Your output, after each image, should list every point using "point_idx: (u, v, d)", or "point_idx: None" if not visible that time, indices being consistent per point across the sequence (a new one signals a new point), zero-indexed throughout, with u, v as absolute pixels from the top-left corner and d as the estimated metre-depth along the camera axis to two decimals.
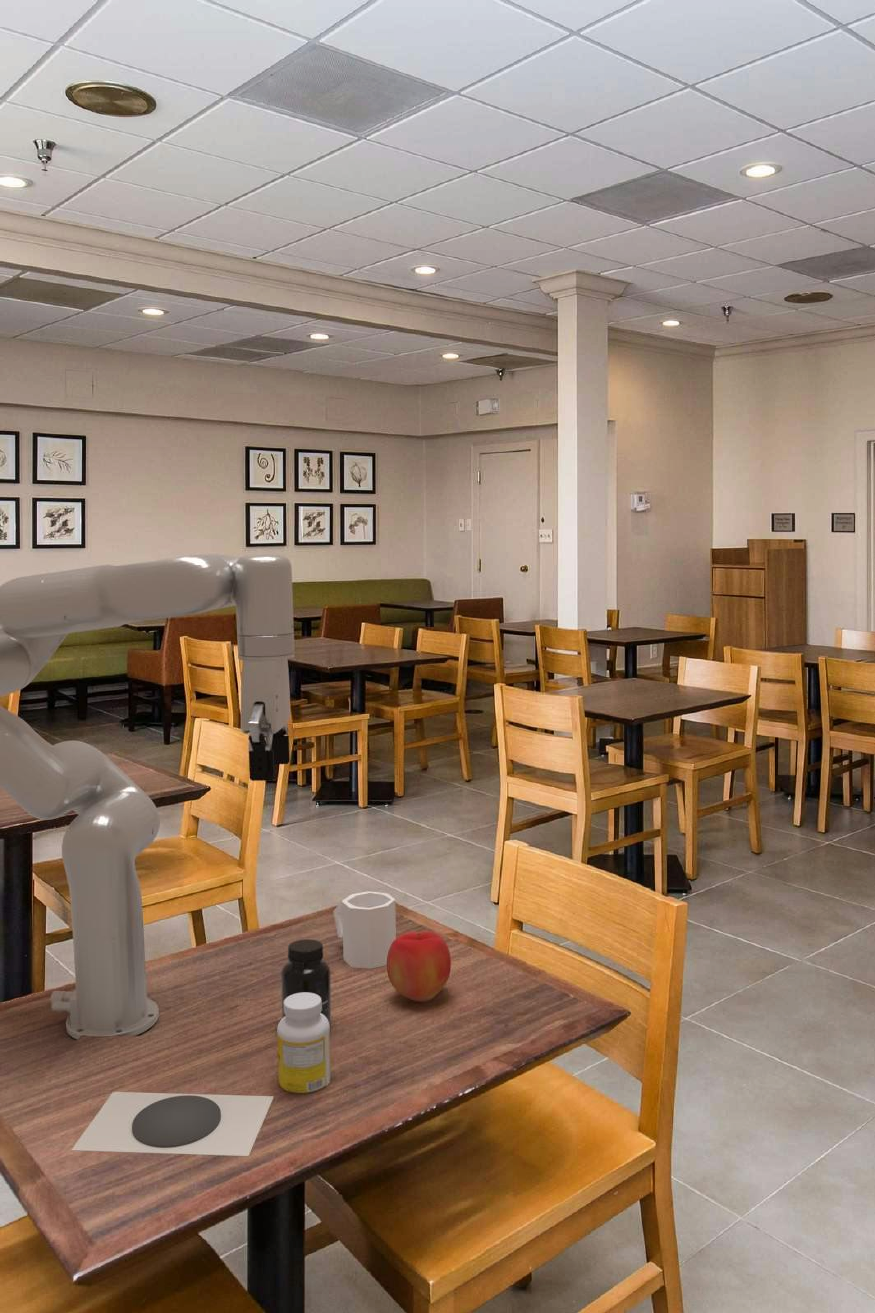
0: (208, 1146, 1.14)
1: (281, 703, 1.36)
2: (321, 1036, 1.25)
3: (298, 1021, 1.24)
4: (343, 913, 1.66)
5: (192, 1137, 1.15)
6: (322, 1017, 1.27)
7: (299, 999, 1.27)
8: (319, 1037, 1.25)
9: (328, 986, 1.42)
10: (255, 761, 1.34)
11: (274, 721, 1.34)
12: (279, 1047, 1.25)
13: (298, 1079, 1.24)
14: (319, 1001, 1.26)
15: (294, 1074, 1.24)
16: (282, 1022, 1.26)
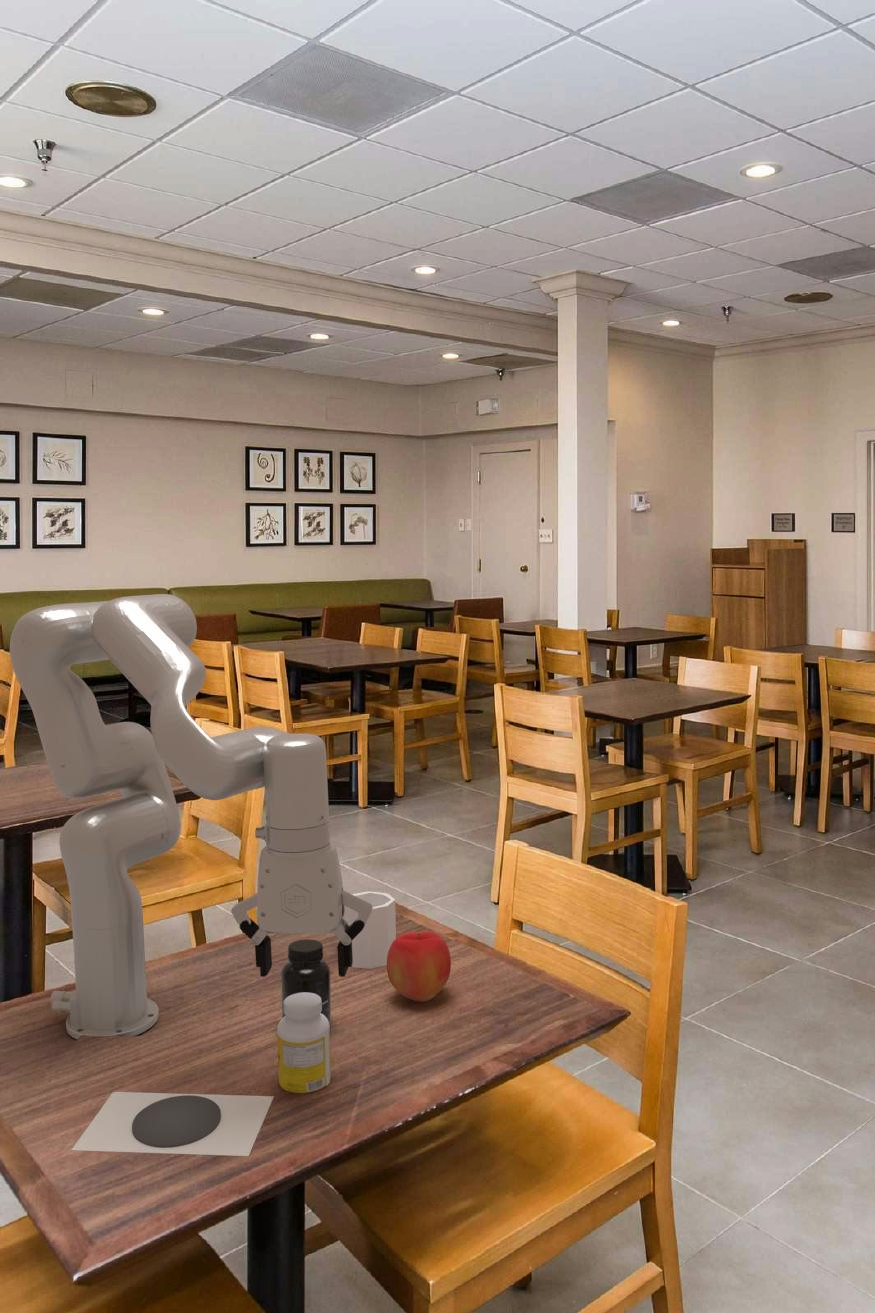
0: (208, 1146, 1.14)
1: None
2: (321, 1036, 1.25)
3: (298, 1021, 1.24)
4: None
5: (192, 1137, 1.15)
6: (322, 1017, 1.27)
7: (299, 999, 1.27)
8: (319, 1037, 1.25)
9: (328, 986, 1.42)
10: (350, 952, 1.24)
11: None
12: (279, 1047, 1.25)
13: (298, 1079, 1.24)
14: (319, 1001, 1.26)
15: (294, 1074, 1.24)
16: (282, 1022, 1.26)
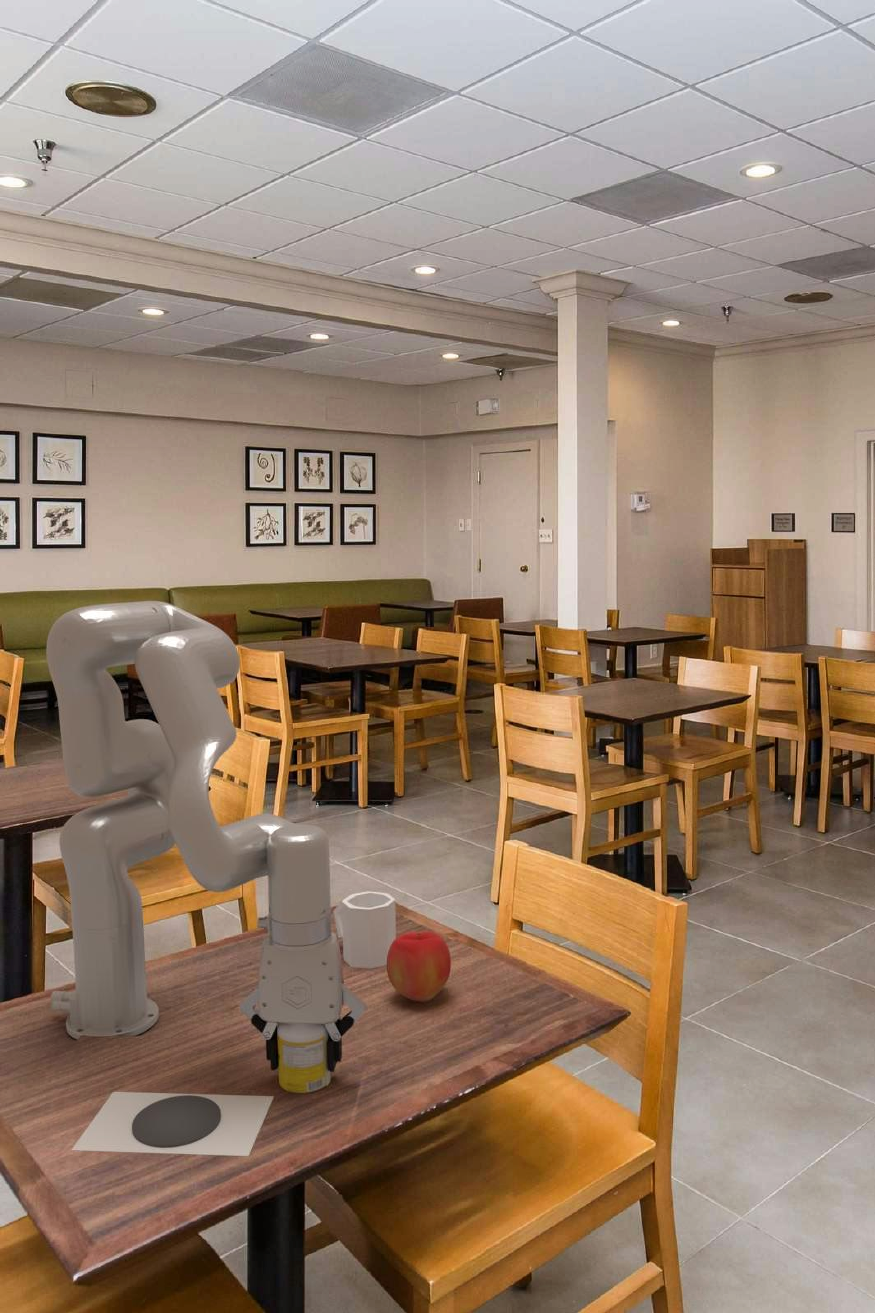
0: (208, 1146, 1.14)
1: None
2: (321, 1036, 1.25)
3: None
4: (343, 913, 1.66)
5: (192, 1137, 1.15)
6: None
7: None
8: (319, 1037, 1.25)
9: None
10: (340, 1047, 1.26)
11: None
12: (279, 1047, 1.25)
13: (298, 1079, 1.24)
14: None
15: (294, 1074, 1.24)
16: None
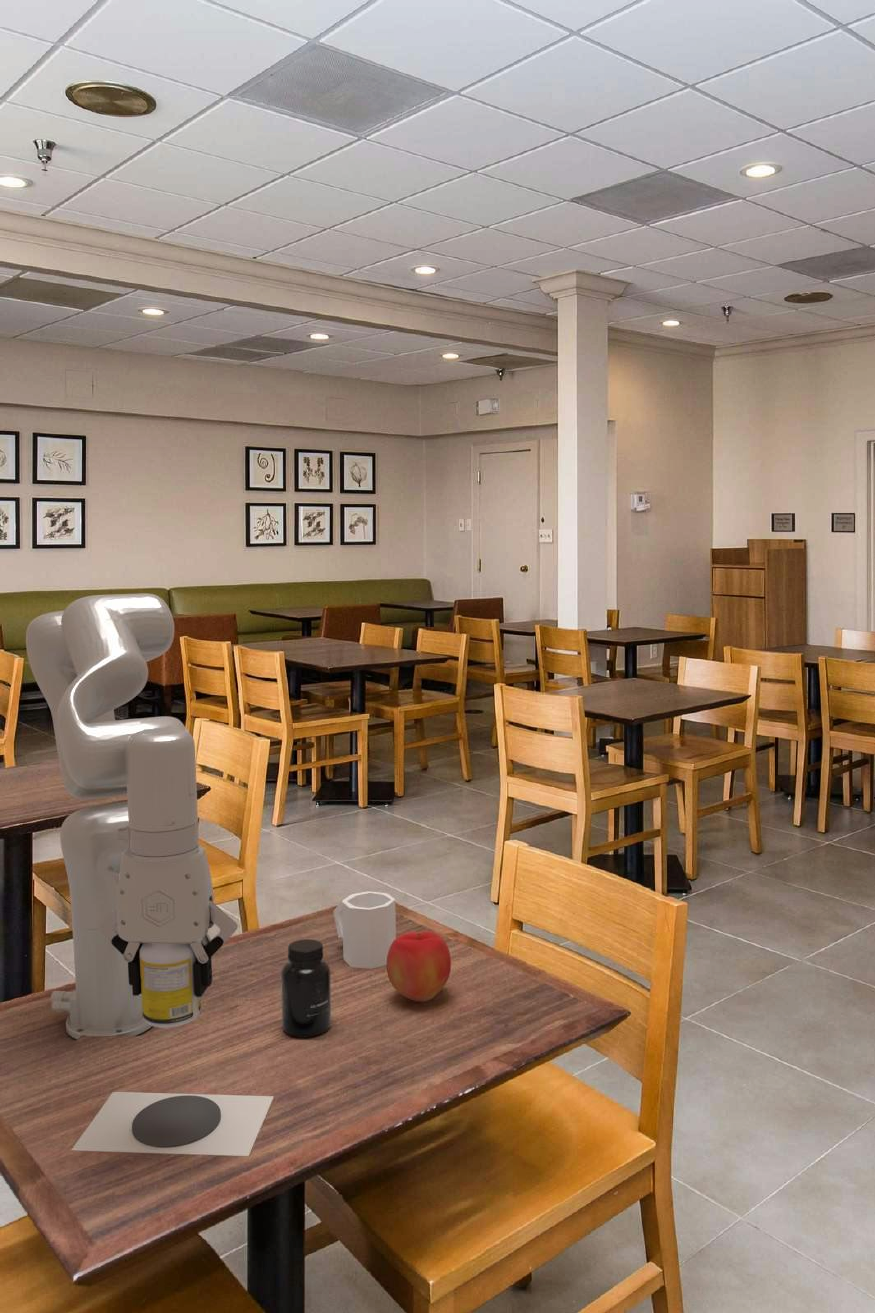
0: (208, 1146, 1.14)
1: None
2: (186, 958, 1.14)
3: None
4: (343, 913, 1.66)
5: (192, 1137, 1.15)
6: None
7: None
8: (184, 959, 1.14)
9: (328, 986, 1.42)
10: (208, 971, 1.16)
11: None
12: (141, 970, 1.15)
13: (161, 1004, 1.14)
14: None
15: (156, 998, 1.14)
16: (145, 943, 1.16)
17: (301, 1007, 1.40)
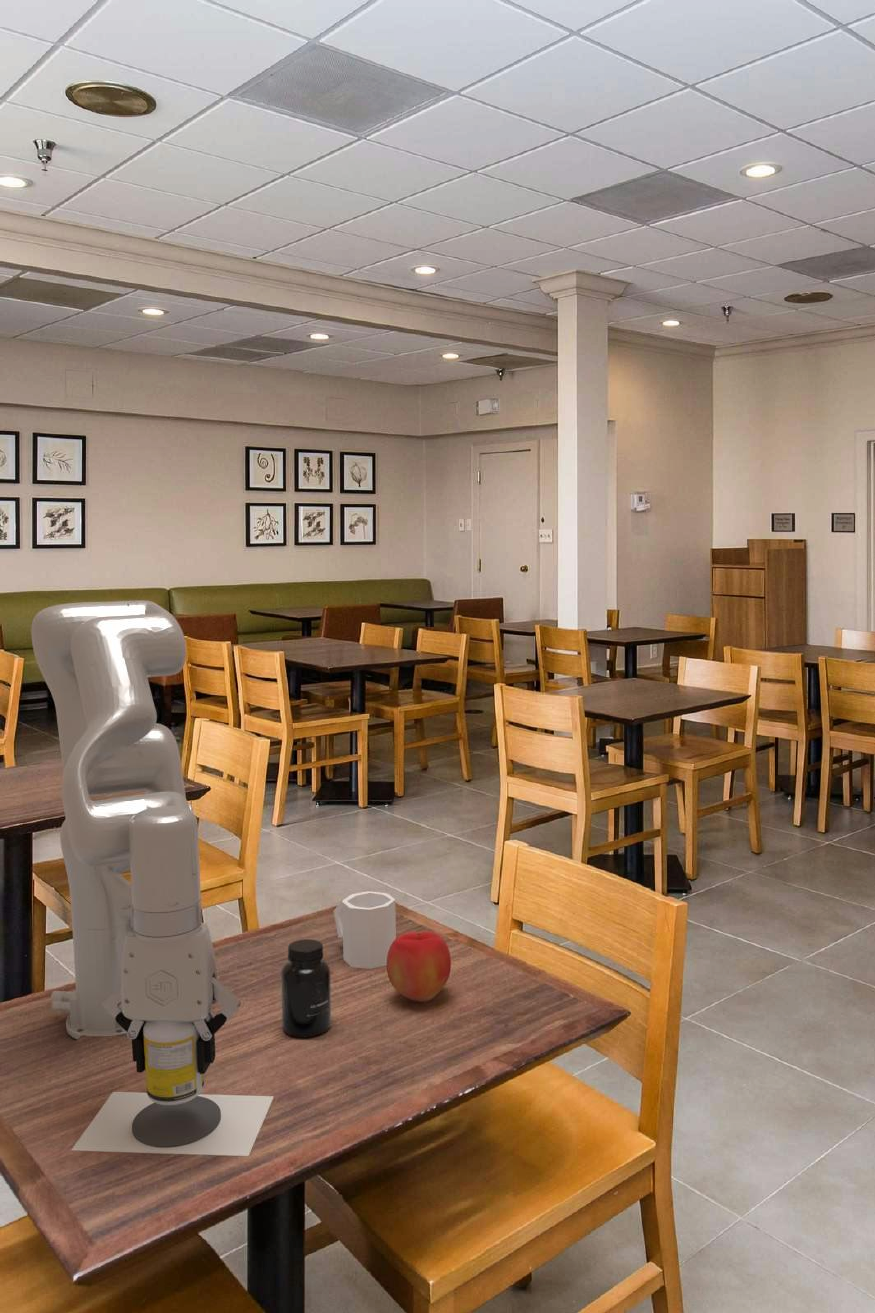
0: (208, 1146, 1.14)
1: None
2: (189, 1036, 1.15)
3: None
4: (343, 913, 1.66)
5: (192, 1137, 1.15)
6: None
7: None
8: (187, 1036, 1.15)
9: (328, 986, 1.42)
10: (211, 1047, 1.17)
11: None
12: (145, 1047, 1.16)
13: (164, 1082, 1.15)
14: None
15: (159, 1076, 1.15)
16: None
17: (301, 1007, 1.40)
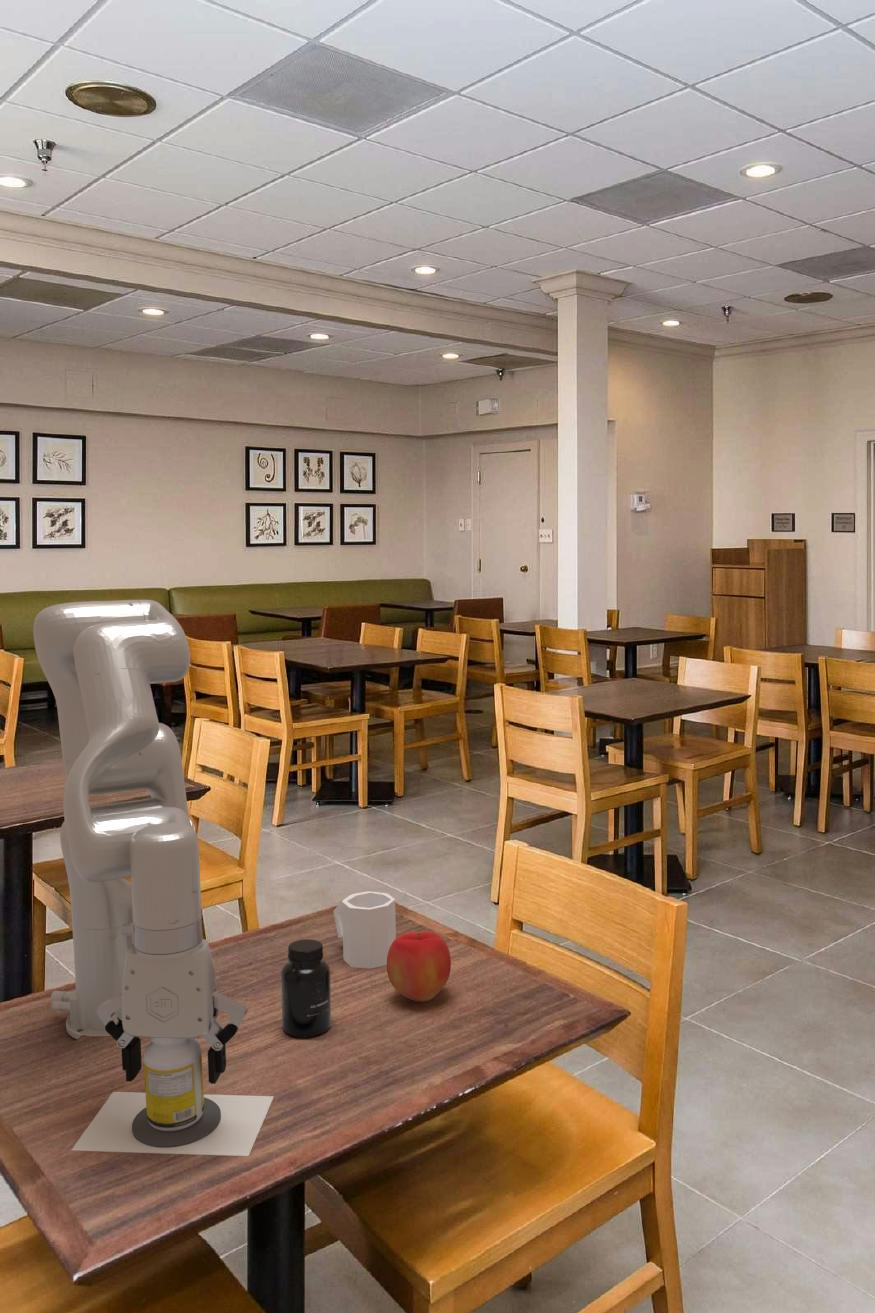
0: (208, 1146, 1.14)
1: None
2: (189, 1063, 1.16)
3: (164, 1047, 1.15)
4: (343, 913, 1.66)
5: (192, 1137, 1.15)
6: (192, 1042, 1.18)
7: None
8: (187, 1064, 1.15)
9: (328, 986, 1.42)
10: (222, 1057, 1.17)
11: None
12: (145, 1074, 1.16)
13: (164, 1109, 1.15)
14: None
15: (159, 1103, 1.15)
16: (148, 1047, 1.17)
17: (301, 1007, 1.40)
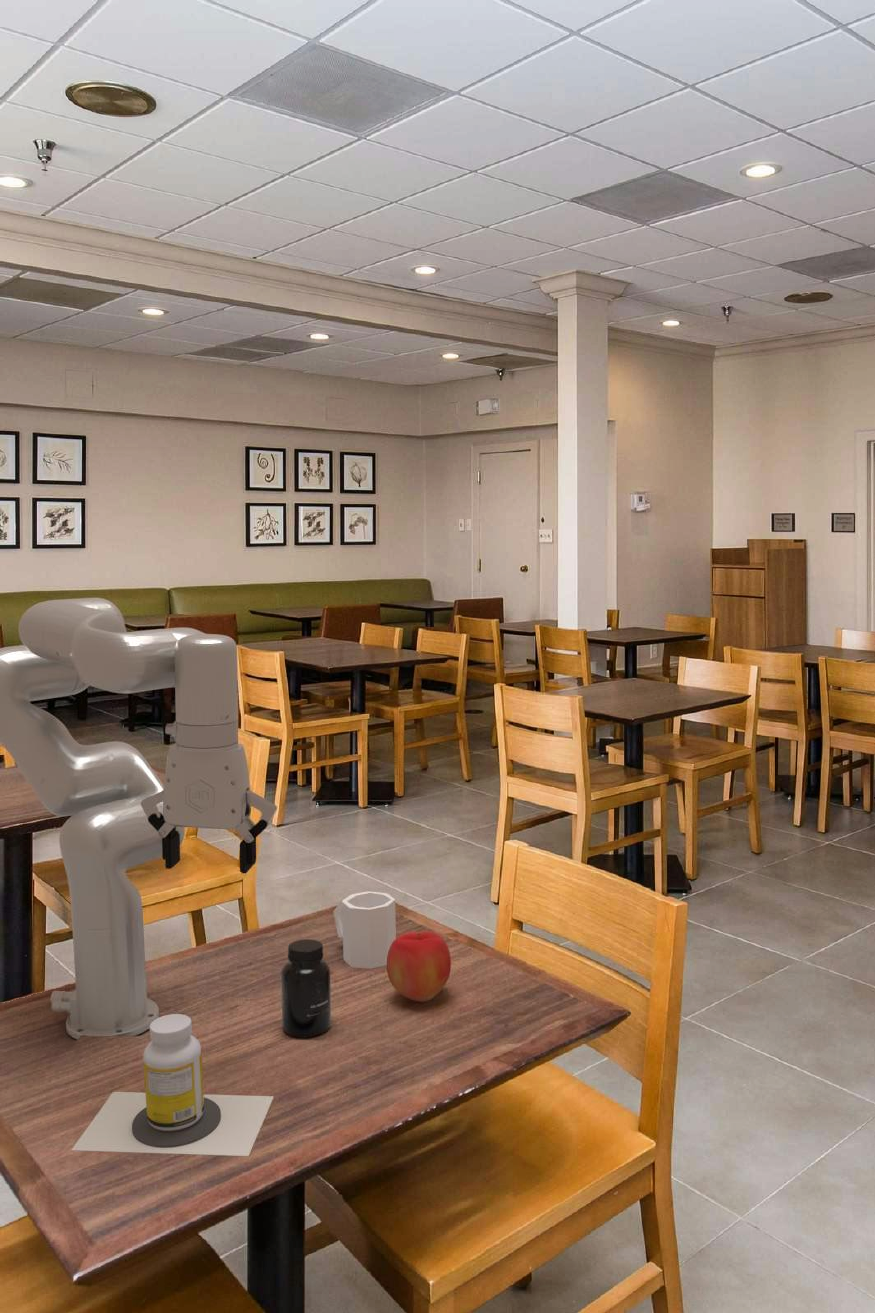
0: (208, 1146, 1.14)
1: None
2: (189, 1062, 1.16)
3: (164, 1046, 1.15)
4: (343, 913, 1.66)
5: (192, 1137, 1.15)
6: (192, 1041, 1.18)
7: (167, 1022, 1.18)
8: (187, 1063, 1.15)
9: (328, 986, 1.42)
10: (253, 850, 1.27)
11: None
12: (145, 1074, 1.16)
13: (164, 1109, 1.15)
14: (188, 1024, 1.17)
15: (159, 1103, 1.15)
16: (148, 1046, 1.17)
17: (301, 1007, 1.40)
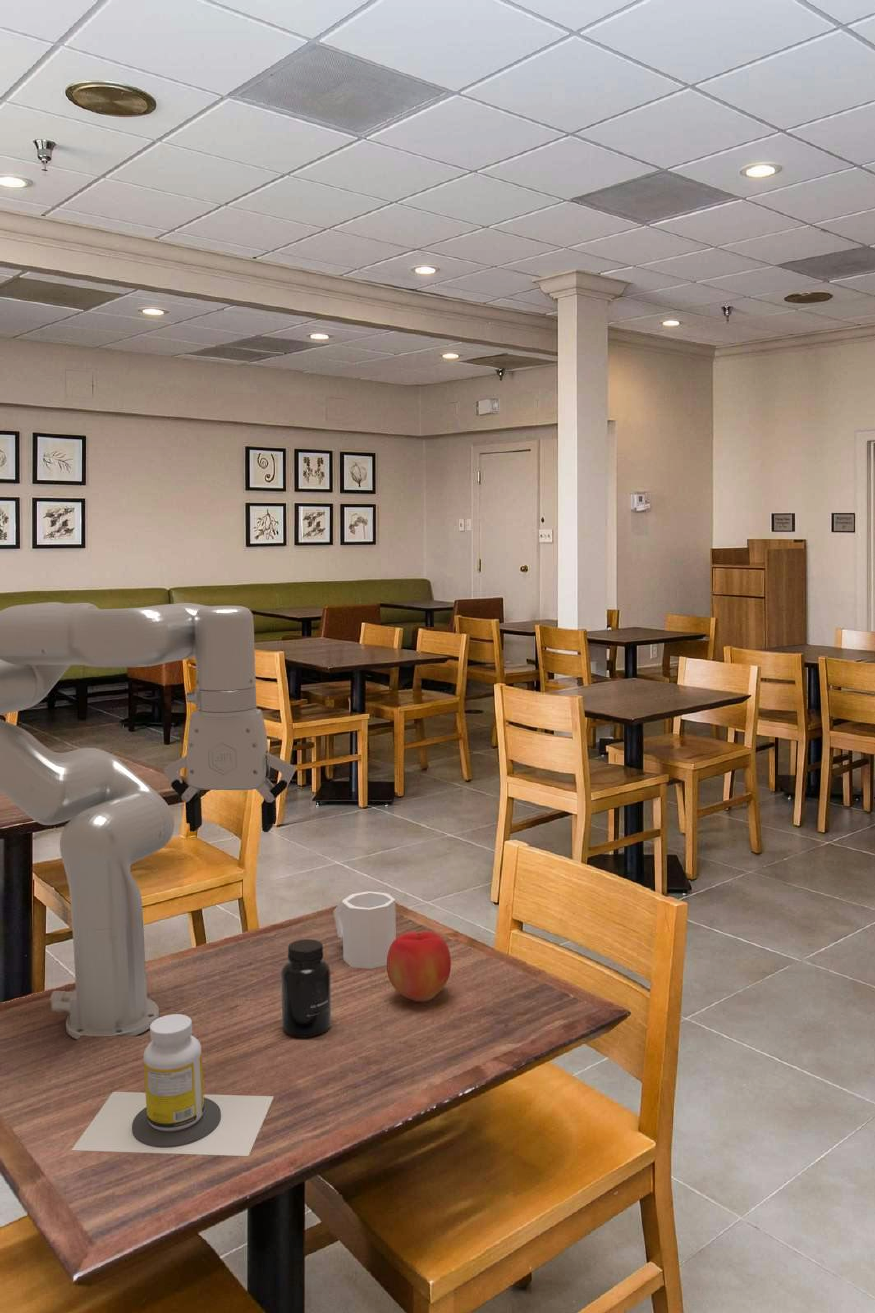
0: (208, 1146, 1.14)
1: None
2: (189, 1063, 1.16)
3: (164, 1046, 1.15)
4: (343, 913, 1.66)
5: (192, 1137, 1.15)
6: (192, 1042, 1.18)
7: (167, 1022, 1.18)
8: (187, 1063, 1.15)
9: (328, 986, 1.42)
10: (273, 810, 1.34)
11: None
12: (145, 1074, 1.16)
13: (164, 1109, 1.15)
14: (188, 1024, 1.17)
15: (159, 1103, 1.15)
16: (148, 1046, 1.17)
17: (301, 1007, 1.40)
